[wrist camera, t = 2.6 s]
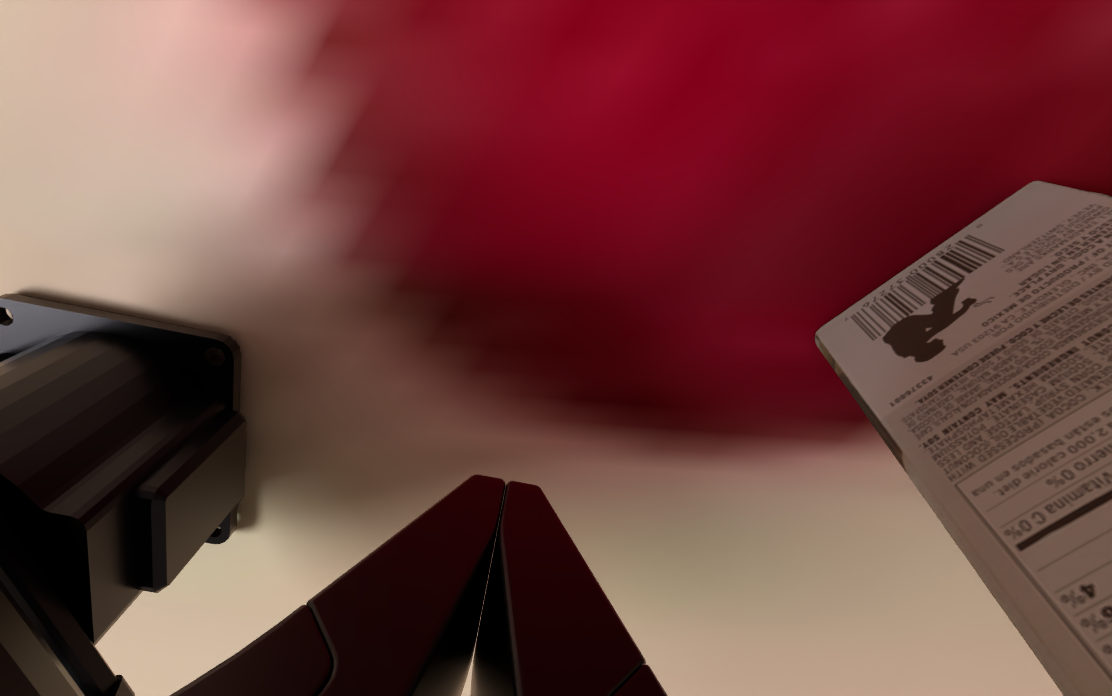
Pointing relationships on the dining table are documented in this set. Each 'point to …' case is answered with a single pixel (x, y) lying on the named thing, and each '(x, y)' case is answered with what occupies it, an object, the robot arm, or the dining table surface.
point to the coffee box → (1007, 410)
